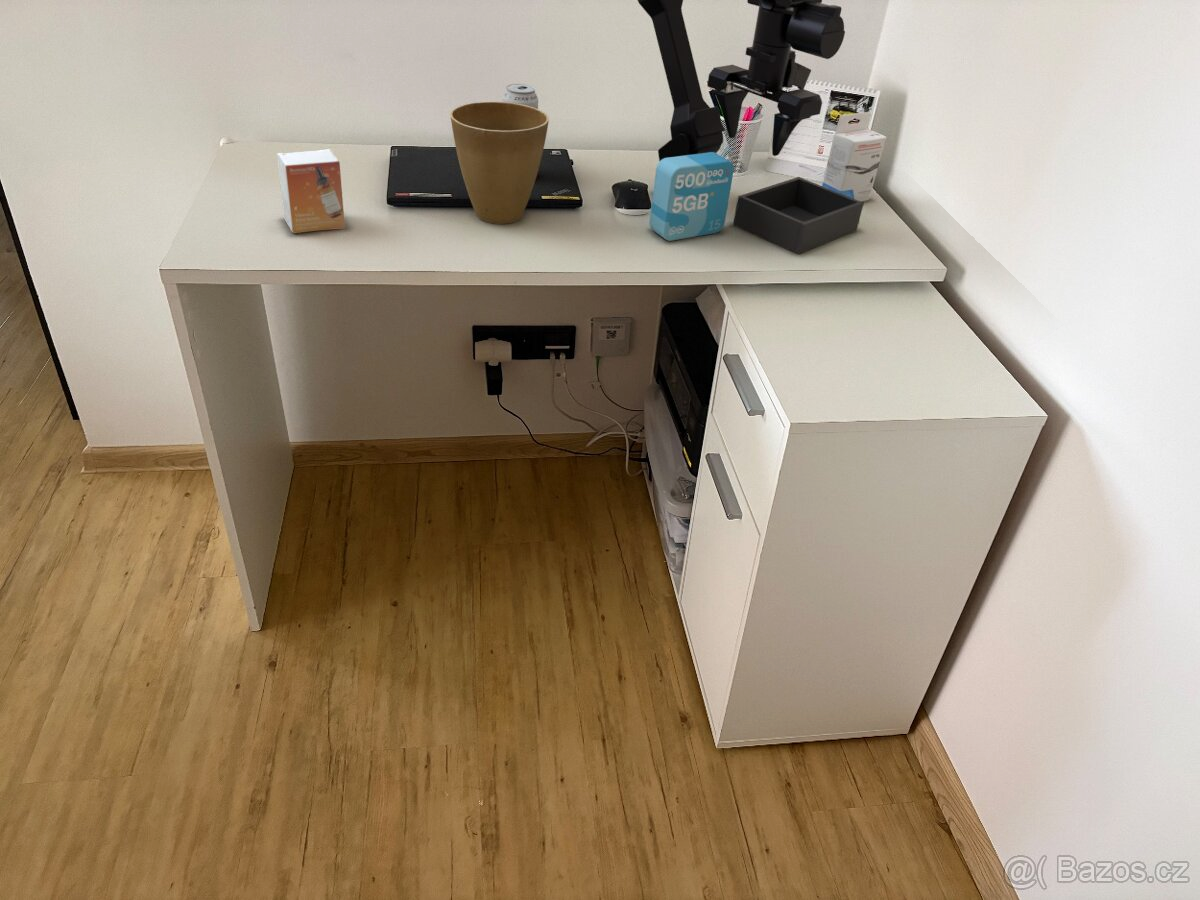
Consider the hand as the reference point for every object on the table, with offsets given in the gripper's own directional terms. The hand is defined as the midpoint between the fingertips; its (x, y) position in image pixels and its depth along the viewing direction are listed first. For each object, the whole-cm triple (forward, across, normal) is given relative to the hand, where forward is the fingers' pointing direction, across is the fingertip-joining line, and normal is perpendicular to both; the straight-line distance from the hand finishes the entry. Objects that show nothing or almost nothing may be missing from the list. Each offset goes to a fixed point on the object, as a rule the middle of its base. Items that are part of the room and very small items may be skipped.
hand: (753, 146), depth 146 cm
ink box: (+13, -2, -26) cm, 29 cm away
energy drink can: (+13, +36, +19) cm, 43 cm away
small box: (+13, +34, +59) cm, 70 cm away
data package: (+13, +2, +10) cm, 17 cm away
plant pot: (+13, +23, +33) cm, 42 cm away
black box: (+13, -6, -7) cm, 16 cm away
